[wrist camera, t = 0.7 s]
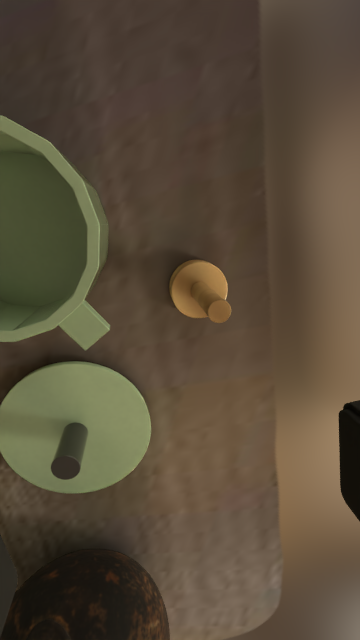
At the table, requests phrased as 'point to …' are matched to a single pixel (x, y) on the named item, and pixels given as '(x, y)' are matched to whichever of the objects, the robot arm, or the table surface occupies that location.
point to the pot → (47, 241)
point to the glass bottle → (88, 601)
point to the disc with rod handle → (200, 291)
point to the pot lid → (74, 427)
